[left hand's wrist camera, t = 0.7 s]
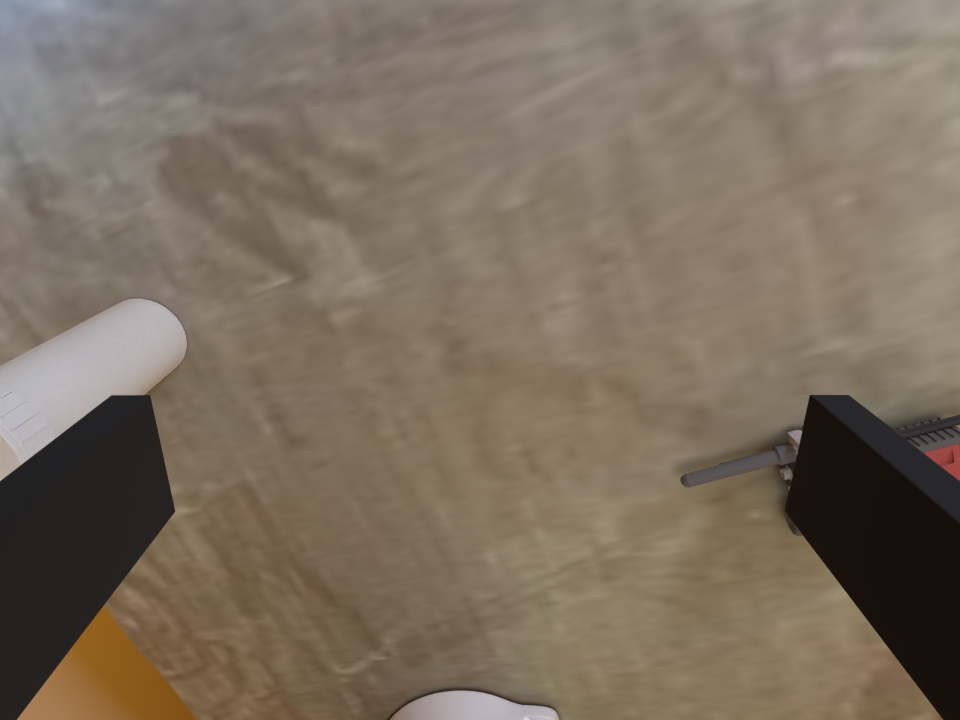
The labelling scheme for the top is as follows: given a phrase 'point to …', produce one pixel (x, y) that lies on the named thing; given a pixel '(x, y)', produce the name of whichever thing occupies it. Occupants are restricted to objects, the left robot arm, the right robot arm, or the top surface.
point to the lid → (20, 431)
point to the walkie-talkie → (932, 437)
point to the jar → (98, 361)
